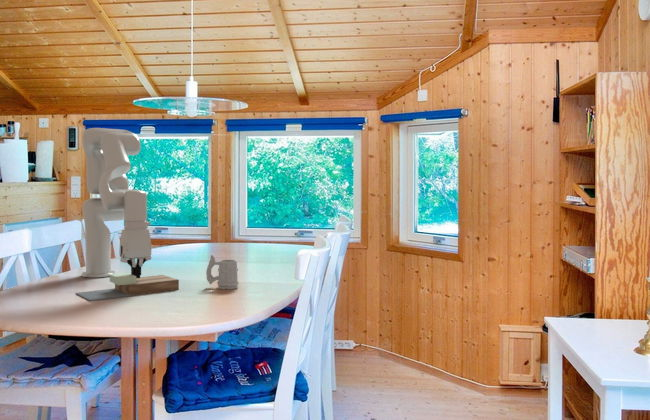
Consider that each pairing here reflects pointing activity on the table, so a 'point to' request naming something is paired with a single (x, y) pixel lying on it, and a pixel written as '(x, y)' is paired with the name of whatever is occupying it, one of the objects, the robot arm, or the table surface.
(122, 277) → the tile
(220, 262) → the mug
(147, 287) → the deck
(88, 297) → the mat
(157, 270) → the table surface
